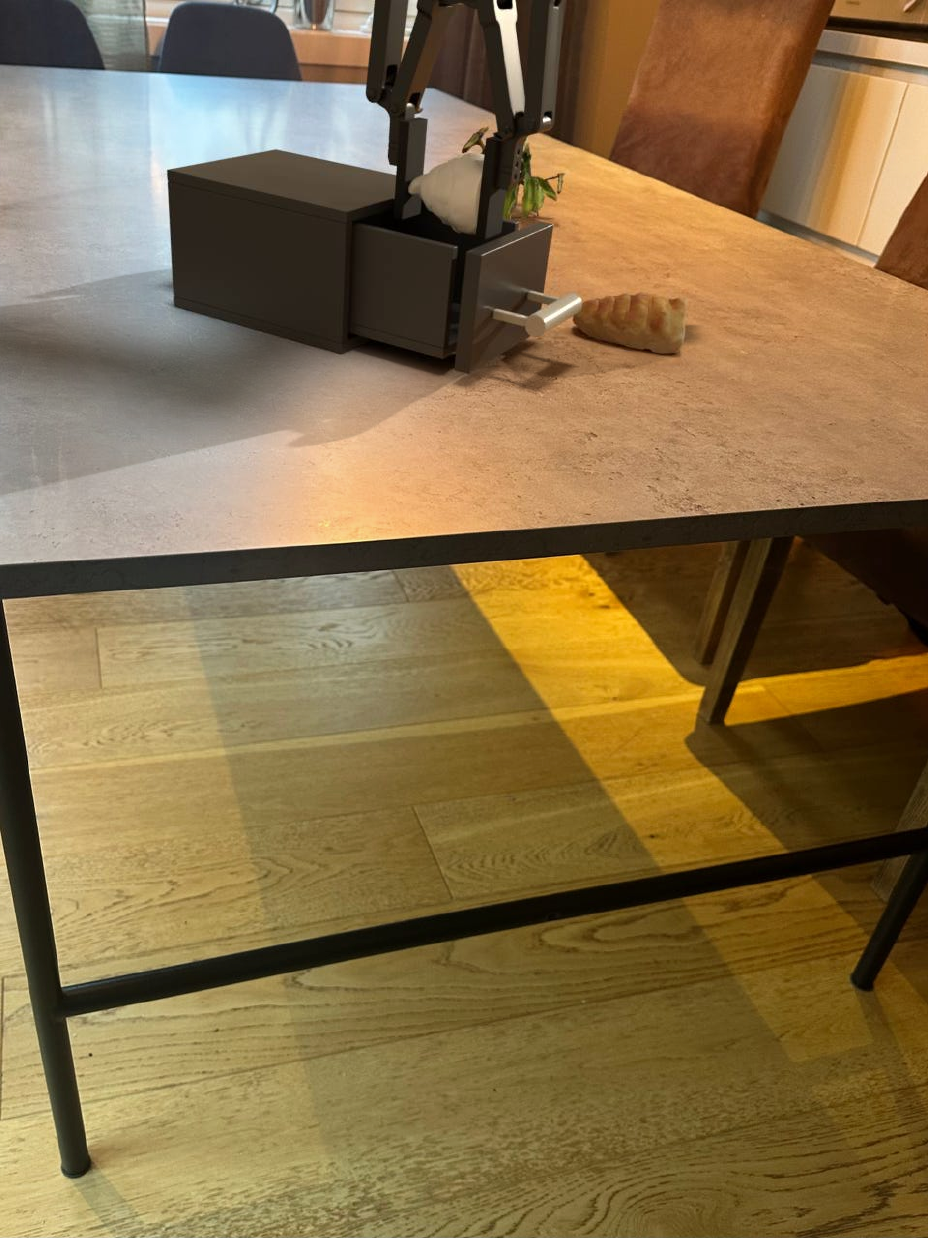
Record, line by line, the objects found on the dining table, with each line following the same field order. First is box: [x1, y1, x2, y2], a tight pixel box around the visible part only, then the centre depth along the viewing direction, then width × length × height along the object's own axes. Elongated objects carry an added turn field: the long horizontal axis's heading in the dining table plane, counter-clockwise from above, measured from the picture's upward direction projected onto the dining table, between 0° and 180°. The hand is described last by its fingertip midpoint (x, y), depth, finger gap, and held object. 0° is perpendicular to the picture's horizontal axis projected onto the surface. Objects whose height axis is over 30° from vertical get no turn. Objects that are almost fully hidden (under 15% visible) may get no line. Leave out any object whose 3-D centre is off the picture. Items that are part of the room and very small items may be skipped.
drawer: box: [348, 200, 583, 375], centre depth 78 cm, size 19×12×8 cm, turn 63°
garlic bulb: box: [408, 152, 484, 235], centre depth 75 cm, size 6×6×5 cm
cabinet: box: [166, 148, 422, 354], centre depth 82 cm, size 16×14×10 cm
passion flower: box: [461, 125, 566, 220], centre depth 119 cm, size 11×11×12 cm
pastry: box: [572, 292, 688, 355], centre depth 86 cm, size 9×7×4 cm
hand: (447, 224), depth 76 cm, fingers closed on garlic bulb, 6 cm apart
